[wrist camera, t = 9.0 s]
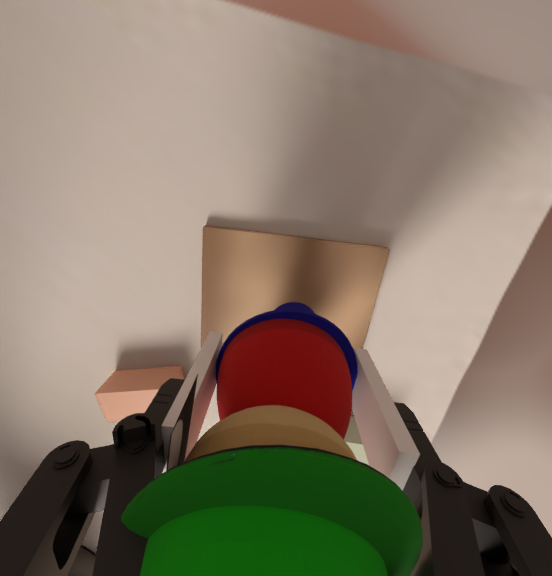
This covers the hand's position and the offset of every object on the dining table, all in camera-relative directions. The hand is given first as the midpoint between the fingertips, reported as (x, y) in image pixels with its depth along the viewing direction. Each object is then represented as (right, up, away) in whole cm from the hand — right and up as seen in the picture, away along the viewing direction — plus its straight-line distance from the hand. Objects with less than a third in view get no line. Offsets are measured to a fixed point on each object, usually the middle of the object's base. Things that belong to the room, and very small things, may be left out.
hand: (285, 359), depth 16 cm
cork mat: (0, +2, +5) cm, 6 cm away
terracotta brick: (-12, -4, +8) cm, 15 cm away
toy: (-1, +1, +2) cm, 3 cm away
